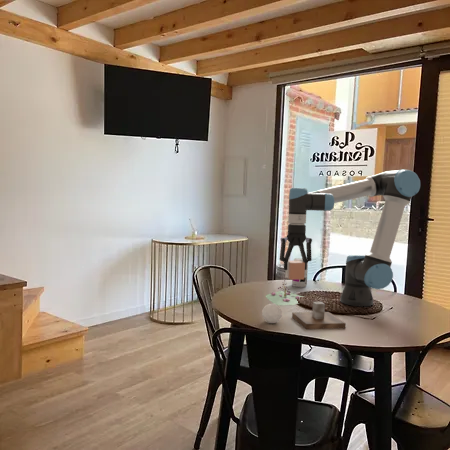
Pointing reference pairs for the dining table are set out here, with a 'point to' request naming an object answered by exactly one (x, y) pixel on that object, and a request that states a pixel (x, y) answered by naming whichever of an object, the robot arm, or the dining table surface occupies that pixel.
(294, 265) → the salmon pink block
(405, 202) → the robot arm
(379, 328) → the dining table surface
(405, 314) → the dining table surface
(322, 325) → the post stand
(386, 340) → the dining table surface
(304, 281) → the supplement can
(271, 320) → the geometric ball
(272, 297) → the plant
